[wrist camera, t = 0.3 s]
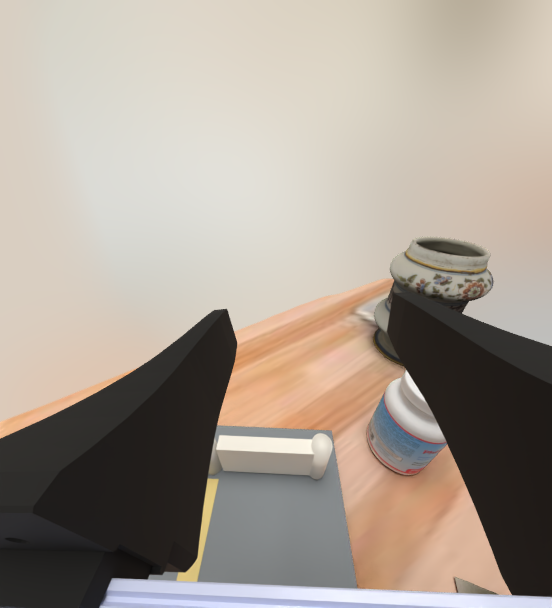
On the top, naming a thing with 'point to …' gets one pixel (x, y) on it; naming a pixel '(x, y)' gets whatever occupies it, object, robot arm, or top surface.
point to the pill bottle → (404, 429)
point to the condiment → (470, 588)
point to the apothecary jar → (435, 279)
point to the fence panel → (275, 454)
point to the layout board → (273, 525)
